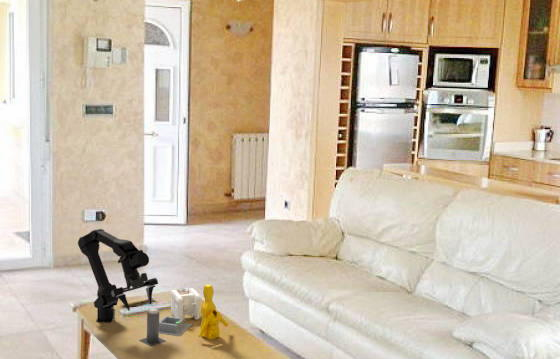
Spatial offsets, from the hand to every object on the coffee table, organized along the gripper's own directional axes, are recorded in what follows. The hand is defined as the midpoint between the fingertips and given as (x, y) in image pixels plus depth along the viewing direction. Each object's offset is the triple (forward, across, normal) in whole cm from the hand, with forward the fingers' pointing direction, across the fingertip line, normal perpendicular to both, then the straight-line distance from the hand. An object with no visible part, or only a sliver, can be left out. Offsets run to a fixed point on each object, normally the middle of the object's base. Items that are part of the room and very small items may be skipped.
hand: (140, 307), depth 281 cm
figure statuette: (+20, +24, -6) cm, 32 cm away
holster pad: (+15, 0, -4) cm, 15 cm away
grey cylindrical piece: (+14, 0, -5) cm, 15 cm away
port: (+13, +12, +6) cm, 18 cm away
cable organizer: (+10, +22, +16) cm, 30 cm away
